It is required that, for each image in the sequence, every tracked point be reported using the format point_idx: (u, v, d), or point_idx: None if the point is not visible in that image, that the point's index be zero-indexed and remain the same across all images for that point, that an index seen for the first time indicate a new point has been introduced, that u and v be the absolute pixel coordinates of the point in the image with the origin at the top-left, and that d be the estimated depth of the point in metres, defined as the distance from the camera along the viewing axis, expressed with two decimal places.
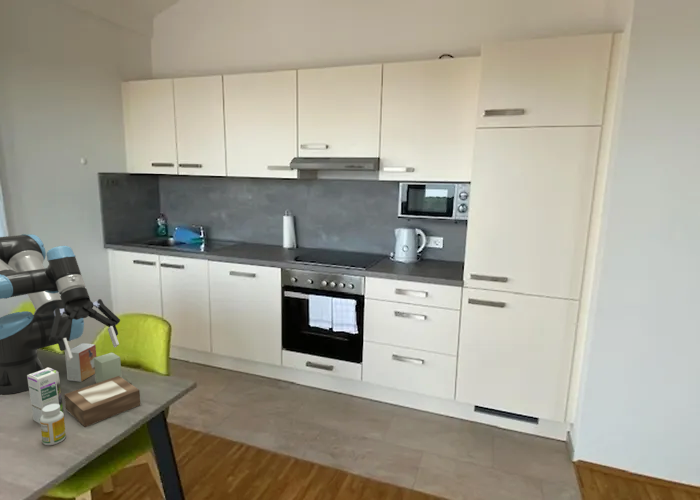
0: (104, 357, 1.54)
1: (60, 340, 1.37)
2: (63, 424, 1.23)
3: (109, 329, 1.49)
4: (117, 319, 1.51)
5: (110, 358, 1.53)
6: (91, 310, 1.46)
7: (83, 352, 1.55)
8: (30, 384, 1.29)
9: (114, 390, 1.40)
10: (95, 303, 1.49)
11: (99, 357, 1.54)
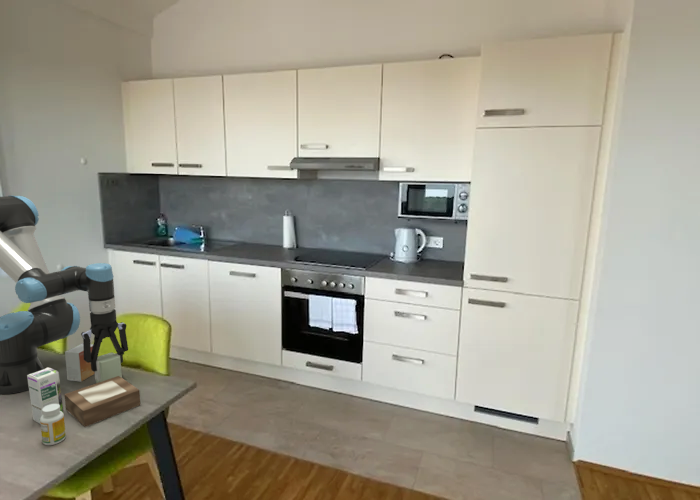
0: (104, 357, 1.54)
1: (93, 363, 1.50)
2: (63, 424, 1.23)
3: None
4: (126, 348, 1.57)
5: (110, 357, 1.53)
6: (112, 334, 1.52)
7: (83, 352, 1.55)
8: (30, 384, 1.29)
9: (114, 390, 1.40)
10: (119, 325, 1.55)
11: (99, 357, 1.54)
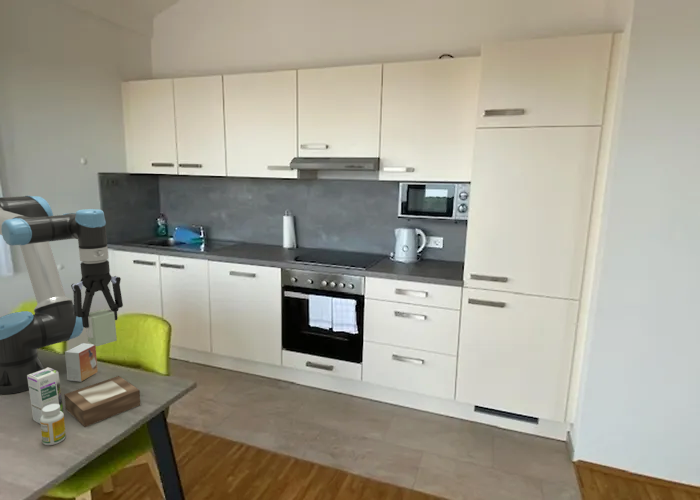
0: (96, 313, 1.41)
1: (85, 318, 1.37)
2: (63, 424, 1.23)
3: None
4: (120, 304, 1.44)
5: (103, 313, 1.41)
6: (106, 288, 1.40)
7: (83, 352, 1.55)
8: (30, 384, 1.29)
9: (114, 390, 1.40)
10: (113, 278, 1.42)
11: (91, 313, 1.41)
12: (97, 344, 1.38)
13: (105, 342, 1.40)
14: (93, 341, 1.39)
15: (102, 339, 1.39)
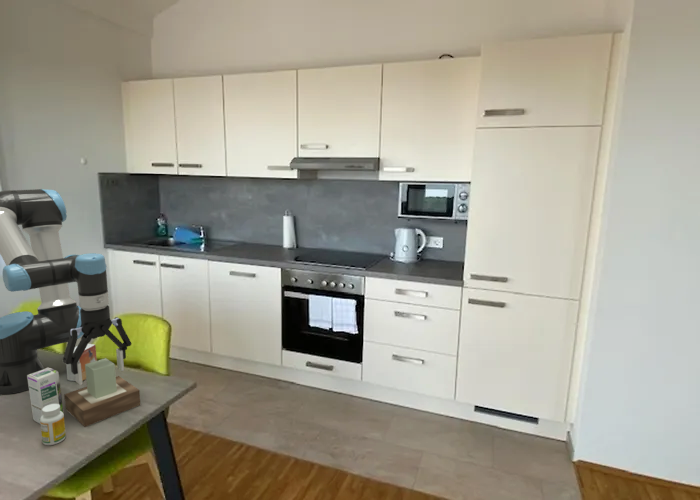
0: (96, 363, 1.38)
1: (74, 365, 1.31)
2: (63, 424, 1.23)
3: (118, 352, 1.41)
4: (129, 343, 1.42)
5: (104, 364, 1.37)
6: (108, 332, 1.36)
7: (83, 352, 1.55)
8: (30, 384, 1.29)
9: None
10: (114, 322, 1.38)
11: (91, 364, 1.37)
12: (96, 396, 1.35)
13: (105, 394, 1.37)
14: (92, 393, 1.36)
15: (102, 391, 1.36)
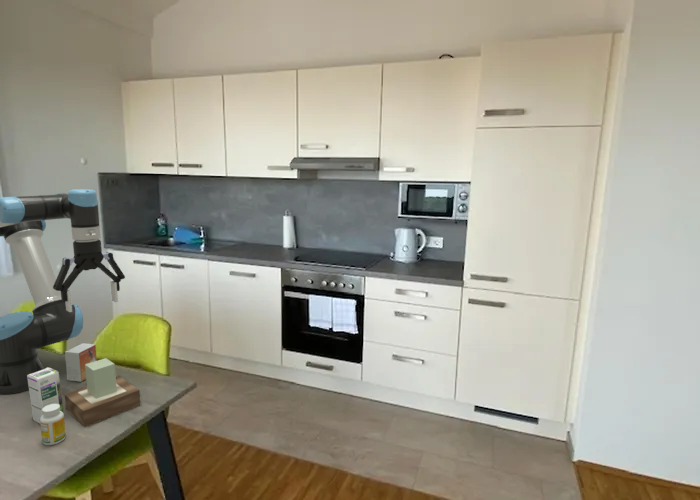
0: (96, 363, 1.38)
1: (64, 292, 1.37)
2: (63, 424, 1.23)
3: (112, 284, 1.49)
4: (122, 276, 1.50)
5: (104, 364, 1.37)
6: (100, 265, 1.43)
7: (83, 352, 1.55)
8: (30, 384, 1.29)
9: None
10: (105, 256, 1.45)
11: (91, 364, 1.37)
12: (96, 396, 1.35)
13: (105, 394, 1.37)
14: (92, 393, 1.36)
15: (102, 391, 1.36)
